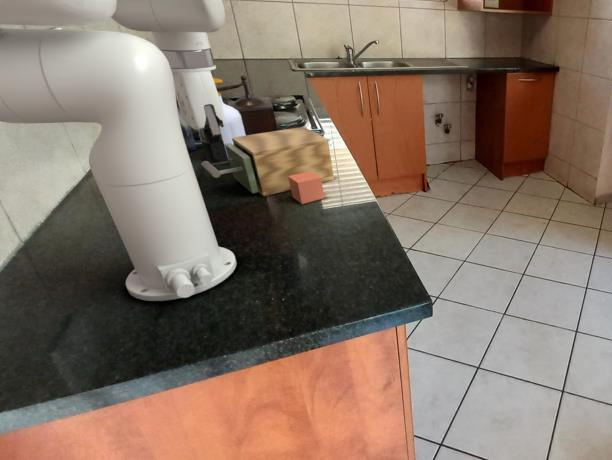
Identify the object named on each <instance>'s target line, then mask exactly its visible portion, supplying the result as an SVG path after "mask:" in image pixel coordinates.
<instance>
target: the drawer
mask: <svg viewBox="0 0 612 460" xmlns="http://www.w3.org/2000/svg"><path fill="white" fill-rule="evenodd" d="M225 148H226V151H227V155H228V158H229V159H228V161H224V162H218V163H213V164H211V163H209V162H208V161H207V160H203V161H202V162H201V163H200V165H201V167H202V168H203V169H204V170H205V171H206V172H207V173H208V174H210V175H211V176H212V177H213V178H216V179H217V178H220V177H221V175H225V174H230V173H232V177H233V178H234V179H235V180H236V181H237V182H238V183H240V185H242V186H243V187H244V188H245V189H246V190H247V191H248V192H249V193H251V194H256V193H259V191H258V187H257V183H256V182H258V183H259V180H258V176H257V172H256V168H255V164H254V160H253V155H251V154H250V153H248V152H247V151H246V150H244V149H243V148H241V150H240V149H238V148H237V147H235V146H234V145H233V144H231V143H229V144H225ZM223 164H229V166H230V168H226V169H220V170H218V169H217V168H216V167H215V166H219V165H223Z"/></svg>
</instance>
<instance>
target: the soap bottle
mask: <svg viewBox="0 0 612 460" xmlns="http://www.w3.org/2000/svg"><path fill="white" fill-rule="evenodd" d="M213 80H214V82H215V86H216V87H217V86H218V83H223V79H221V78H217V77H213ZM217 92H218V95H219V99H220V102H221V105H222V109H223V113H224V117H225V122H226V125H225V126H224V127H221V126H219V127H220V131H221V135H222V139H223V142H224V145H225V144H229V143H231V144H233V141H232V138H233V137H240V136H246V134H245V130H244V126H243V122H242V118H241V115H240V113H239V112H238V110H236V109H234V108H233V107H231V106H228V104H226V103H224V101H223V98H222V95H221V92H220V91H217ZM198 135H199V134H198ZM199 138H200V135H199ZM201 141H202V140H201V138H200V142H201ZM233 145H234V144H233ZM225 149H226V148H225ZM226 152H227V151H226ZM227 156H228V155H227ZM228 159H229V158H228Z"/></svg>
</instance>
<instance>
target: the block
mask: <svg viewBox="0 0 612 460" xmlns="http://www.w3.org/2000/svg"><path fill="white" fill-rule="evenodd" d="M288 178H289V183H290V188H291V190H290V191H291V196H292V199H294V200H296V201H297V202H298V203H300V204H301V205H304V204H308V203H312V202H316V201H319V200H323V199H325V192H324V188H323V182H322V181H321V177H319V176H318V175H316V174H315V173H313V172H312V171H309V172H304V173H300V174H295V175H291V176H288Z"/></svg>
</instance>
